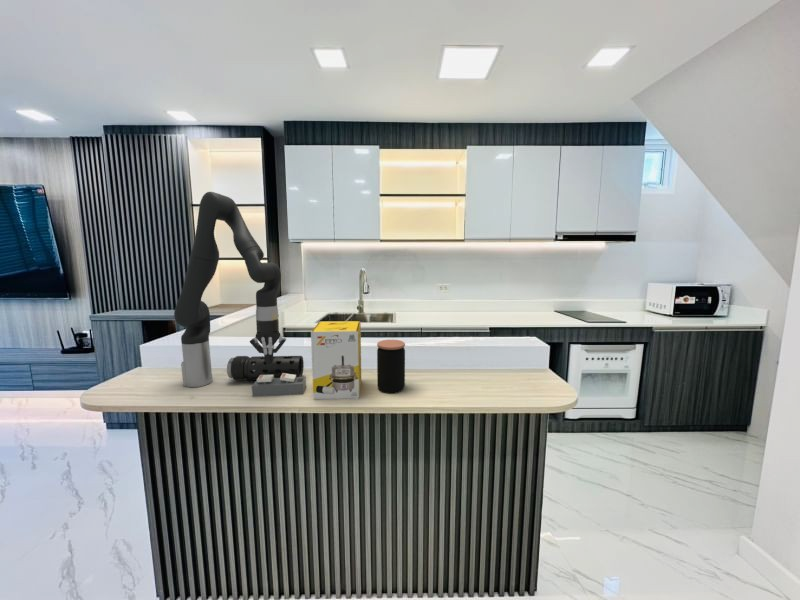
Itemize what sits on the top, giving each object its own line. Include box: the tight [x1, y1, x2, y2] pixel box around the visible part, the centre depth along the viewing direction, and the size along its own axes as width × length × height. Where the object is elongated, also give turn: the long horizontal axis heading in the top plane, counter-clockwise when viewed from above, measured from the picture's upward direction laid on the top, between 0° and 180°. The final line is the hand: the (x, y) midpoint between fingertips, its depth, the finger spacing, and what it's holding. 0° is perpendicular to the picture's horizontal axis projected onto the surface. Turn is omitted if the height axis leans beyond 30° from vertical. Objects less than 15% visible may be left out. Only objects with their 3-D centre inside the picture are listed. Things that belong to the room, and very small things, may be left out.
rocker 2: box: [280, 373, 296, 382], centre depth 125 cm, size 5×4×1 cm
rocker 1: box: [257, 375, 274, 382], centre depth 124 cm, size 5×4×1 cm
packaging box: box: [310, 320, 362, 401], centre depth 125 cm, size 16×16×25 cm
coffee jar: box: [376, 339, 406, 394], centre depth 127 cm, size 11×11×18 cm
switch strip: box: [251, 376, 307, 398], centre depth 125 cm, size 18×7×4 cm, turn 97°
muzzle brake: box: [226, 355, 305, 382], centre depth 135 cm, size 10×28×10 cm, turn 93°
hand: (269, 363), depth 123 cm, fingers closed
